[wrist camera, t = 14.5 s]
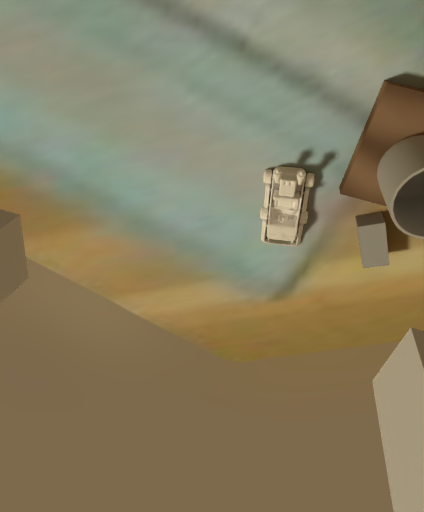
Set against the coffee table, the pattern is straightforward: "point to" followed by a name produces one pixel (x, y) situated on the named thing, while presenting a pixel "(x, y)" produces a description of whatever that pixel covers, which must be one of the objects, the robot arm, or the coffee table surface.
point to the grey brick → (372, 239)
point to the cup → (404, 184)
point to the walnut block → (383, 138)
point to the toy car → (285, 204)
